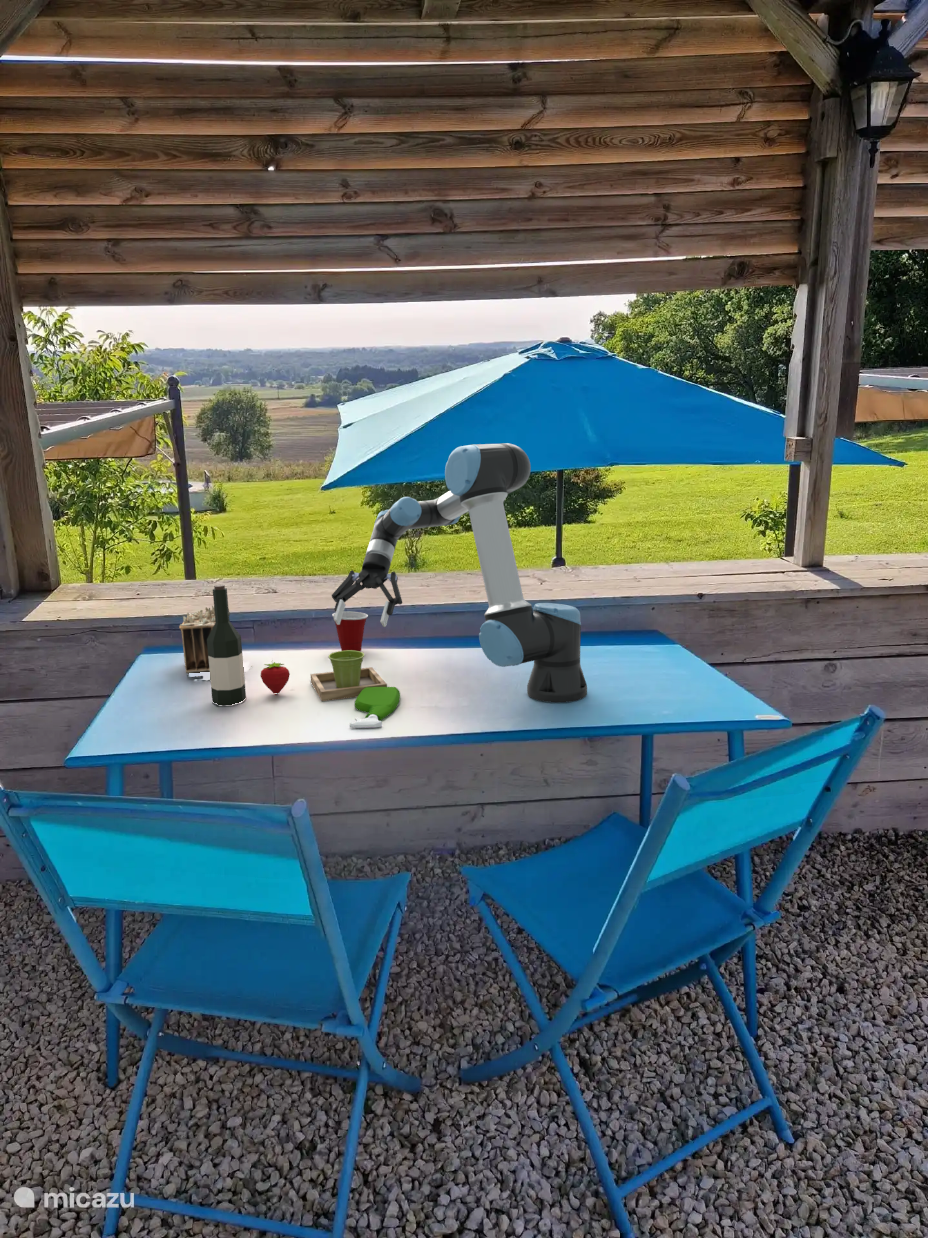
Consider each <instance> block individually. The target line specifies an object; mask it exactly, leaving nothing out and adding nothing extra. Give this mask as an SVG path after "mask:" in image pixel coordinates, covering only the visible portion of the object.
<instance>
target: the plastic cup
mask: <svg viewBox="0 0 928 1238" xmlns="http://www.w3.org/2000/svg"><path fill="white" fill-rule="evenodd" d="M335 614H336V612H334V613H332V614H331V615H332V618H334V617H335ZM367 618H369V615H368V614H367V613H364V612H360V611H359V612H358V611H344V612H343V615H342V619H341V622H340V625H337V624H336V622H335V621H334V623H335V628H336V632H337V633H336V634H337V637H338V638H337V639H338V642H339V644H340V651H346V650H353V651H361V652H362V647H363V646H362V645H363V639H364V633H365V632H364V631H365V625H366V622H367Z"/></svg>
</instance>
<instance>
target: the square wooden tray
mask: <svg viewBox="0 0 928 1238" xmlns="http://www.w3.org/2000/svg"><path fill="white" fill-rule="evenodd" d="M311 683H312V684H311ZM310 684H311V685H313V686H312V687H313V689H314V688H315V689H314V691H315V690H316V691H315V692H316V694H317V695H318V697H319V699H320V700H321V702H328V701H336V700H343V699H344V700H345V699H350V698H351V699H352V698H357V696H358V695H359V694H360V692H361V691H362V690H363V689H364V688H366V687H388V683H387V682H386V681H384V679H383V678H382V677H381V675H379V673H378V672H377V671H376V670H375V668H373V667H370V666H369V667H363V668H362V667H361V674H360V685H359V686H355V687H347V688H338V687H336V682H335V677H334V672H333V671H326V672H319V673H318V672H317V673H310Z"/></svg>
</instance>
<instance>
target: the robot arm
mask: <svg viewBox="0 0 928 1238" xmlns="http://www.w3.org/2000/svg"><path fill="white" fill-rule="evenodd" d="M531 467H532V466H531V462H530V459H529V456H528V455H527V453H526V452H525V450H523V449H522V448H521V447H520V446H517V445H516V444H512V443H508V442H507V443H504V442H503V443H485V444H481V443H479V444H473V443H471V444H468V445H463V446H462V445H460V446H458V447H456V448H455V449H453V450H452V451H451V453H450V454H449V456H448V460H447V462H446V463H445V468H444V469H445V470H444V476H445V477H444V479H445V484H446V487H447V489H448V491H446V492H445V493H443V494H442V495H441V496H438V497H437V498H435V499H431V500H422V501H421V500H420V501H417V499H415V498H412V497H411V496H403V497H401V498H399V499H398V500H397V501H395V502H394V503H393V504H392V505H391V507H390V508H389V509H385V510H381V511H380V512H379V513H378V515H377V517H376V519H375V521H374V524H373V525H374V526H373V529H372V533H371V536H370V539H369V542H368V543H369V544H368V545H367V549H366V552H365V557H364V559H363V563H362V567H361V570H360V572H355V571H354V570H353V569H351V570H350V571H349V573H348V575H347V577H346V578H345V579H344V580H343V581H342V583H341V584H339V586H338V587H337V588H336V589H335V591H334V592H333V593H331V598H332V599H333V601H334V602H335V605H334V613H336V614H335V617H333V621H334V623H335V622H336V624H337V625H340V622H341V619H342V615H343V612H345V609H346V602H347V601H348V600H350V599H351V598H352V597H353V596H355V595H356V594H358V592H360V591H364V589H367V590H368V589H374V590H376V589H378V588H380V590H381V591H382V593H383V594H384V596H385V598H386V599H387V600H386V601H385V603H384V606H383V610H382V614H381V617H380V624H381V625H382V627H383V628H385V627H387V624H388V620H389V617H390V616H392V615H393V614H394V609H395V606H397V605H402V604H403V599H402V595H401V592H400V589H399V586H398V580H399V578H398V575H397V573H396V572H395V571H392V572H391V573H389V571H390V568H391V564H392V562H393V556H394V554H395V550H396V547H397V544H398V540H399V538H401V536H402V535H404V534H405V533H406V532H407V531H408V530H415V529H425V528H431V527H432V528H433V527H442V526H443V527H447V526H450V525H455V524H456V523H458V522H459V520H460V518H461V516H462V515H464V514H466V513H468V515H469V519H470V523H471V524H470V525H471V529H472V533H473V537H474V543H475V547H476V551H477V556H478V561H479V565H480V570H481V575H482V579H483V580H482V581H483V584H484V588H485V589H484V590H485V593H486V599H487V603H488V609H487V610H486V611H485V613H484V615H483V616H484V618H485V619H484V620H485V621H484V622H483V623H482V624H481V625H480V628H479V631H480V632H479V633H478V639H479V643H480V647H481V650H482V652H483V653H484V655H485V657H486V658H487V659H488V660H489V661H490V662H491V663H492V664H493V665H495V666H498V667H502V668H505V667H516V666H519V665H521V664H522V665H523V664H526V663H529V662H533V666H532V670H531V672H530V676H529V679H528V682H527V685H526V686H527V688H526V694H527V695H528V697H529V698H531V699H533V700H535V701H539V702H543V703H554V704H555V703H559V704H560V703H571V702H577V701H579V700H582V699H584V698H586V697H587V696H588V685H587V682H586V678H585V676H584V672H583V669H582V666H581V642H582V641H581V639H582V638H581V635H582V632H581V631H582V628H581V627H582V622H581V612H580V610H579V609H578V608H577V607H575V606H572V605H567V604H561V603H554V602H553V603H551V602H539V603H535V604H534V605H533V607H532V604H531V603H530V602H528V601H527V600H526V599H525V598H524V595H523V589H522V584H521V580H520V577H519V570H518V566H517V563H516V558H515V554H514V547H513V543H512V539H511V533H510V530H509V524H508V519H507V516H506V515H507V514H506V511H505V506H504V502H505V500H506V498H507V497H508V495H509V494H511V493H513V492H514V491H516V490H518V489H520V488H522V487H523V486H524V485H525V484H526V483H527V481H528V479H529V477H530V475H531V469H532V468H531ZM387 581H389V582H390V583H391V585H392V586H391V587H392V590H393V593H394V598H393V596H392V594H391V593H390V592H389V590H388V588H387V586H386V585H385V584H384V583H385V582H387Z"/></svg>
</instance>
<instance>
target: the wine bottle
mask: <svg viewBox="0 0 928 1238" xmlns="http://www.w3.org/2000/svg"><path fill="white" fill-rule="evenodd" d="M212 598H213V599H212V600H213V608H214V611H215V622H216V623H215V624H214V626H213V628H212V630H211V632H210V634H209V636H208V638H207V647H208V658H209V669H210V680H209V681H210V687H211V688H210V689H211V698H212V699H211V700H212V701H213V702H214V703H217V704H218V705H232V704H235V703H239V702H241V701H243V700H244V699H245V698H246V699H247V694H246V693H247V692H246V683H245V681H246V680H245V673H244V667H243V661H244V658H243V657H244V656H243V642H242V635H241V634H240V633H239V631H238V630H237V629H236V627H235V626H234V625H233V624H232V622H231V621H230V616H229V612H230V609H229V601H228V589H227V588H226V587H225V584H215V585H214V586H213V589H212ZM212 701H211V702H212ZM213 702H212V703H213Z"/></svg>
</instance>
